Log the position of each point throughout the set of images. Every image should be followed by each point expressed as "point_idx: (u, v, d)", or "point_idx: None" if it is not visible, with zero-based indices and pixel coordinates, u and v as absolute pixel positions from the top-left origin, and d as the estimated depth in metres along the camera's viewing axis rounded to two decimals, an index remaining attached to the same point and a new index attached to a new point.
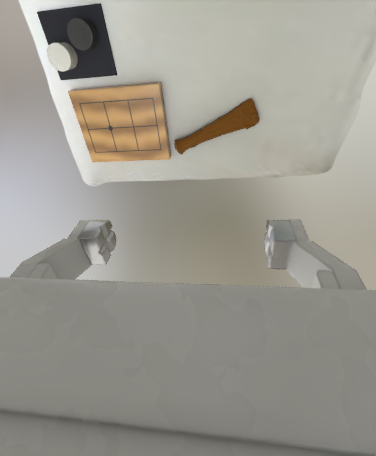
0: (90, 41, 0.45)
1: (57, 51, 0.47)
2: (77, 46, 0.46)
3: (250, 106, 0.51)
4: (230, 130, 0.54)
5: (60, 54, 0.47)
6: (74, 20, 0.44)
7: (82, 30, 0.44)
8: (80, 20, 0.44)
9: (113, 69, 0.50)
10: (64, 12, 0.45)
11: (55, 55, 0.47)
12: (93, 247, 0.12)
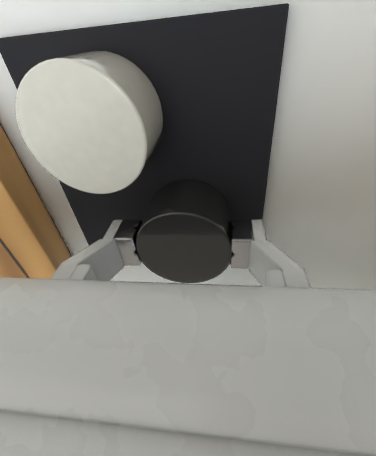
0: (165, 276, 0.13)
1: (108, 141, 0.09)
2: (144, 234, 0.11)
3: None
4: None
5: (98, 152, 0.09)
6: (226, 250, 0.11)
7: (195, 263, 0.12)
8: (223, 266, 0.12)
9: None
10: (257, 158, 0.11)
11: (86, 121, 0.08)
12: (129, 247, 0.12)
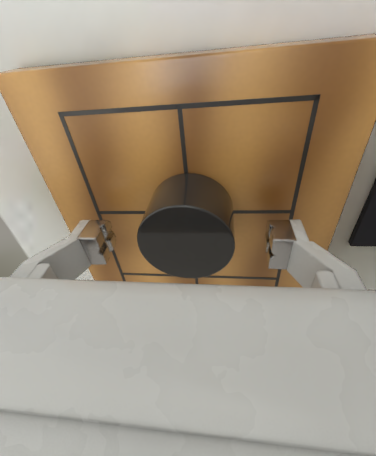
0: (166, 271, 0.13)
1: None
2: (146, 228, 0.11)
3: None
4: None
5: None
6: (228, 244, 0.11)
7: (197, 258, 0.12)
8: (226, 261, 0.12)
9: (370, 242, 0.16)
10: None
11: None
12: (93, 247, 0.12)
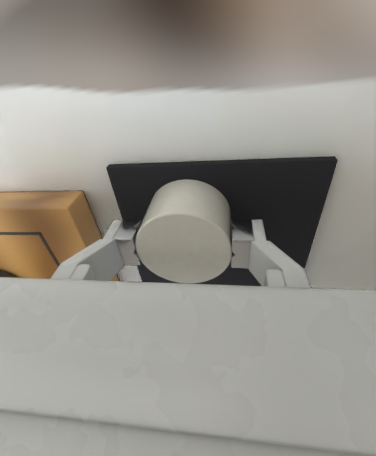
0: None
1: (203, 255, 0.12)
2: None
3: None
4: None
5: (193, 261, 0.12)
6: None
7: None
8: None
9: None
10: (301, 246, 0.14)
11: (189, 244, 0.11)
12: (129, 248, 0.12)
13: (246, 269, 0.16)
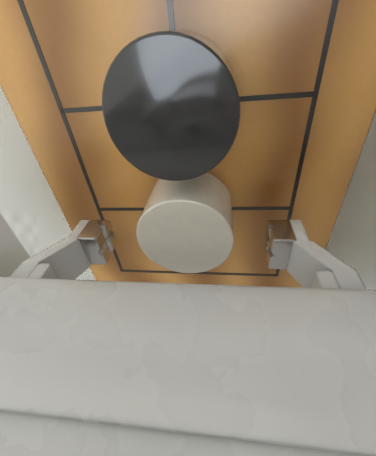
0: (146, 170, 0.09)
1: (204, 244, 0.12)
2: (113, 86, 0.08)
3: None
4: None
5: (194, 250, 0.12)
6: (231, 109, 0.08)
7: (187, 141, 0.09)
8: (227, 144, 0.08)
9: None
10: None
11: (191, 233, 0.11)
12: (93, 247, 0.12)
13: None
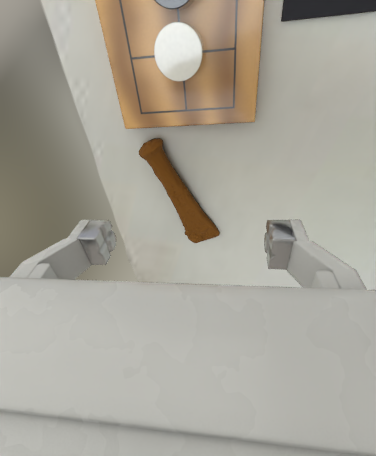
0: (160, 2, 0.21)
1: (188, 54, 0.23)
2: None
3: (211, 235, 0.42)
4: (182, 218, 0.40)
5: (183, 60, 0.24)
6: None
7: None
8: None
9: (293, 15, 0.24)
10: None
11: (181, 46, 0.23)
12: (93, 247, 0.12)
13: None
